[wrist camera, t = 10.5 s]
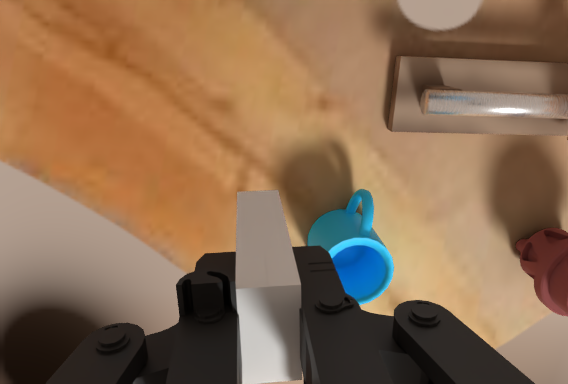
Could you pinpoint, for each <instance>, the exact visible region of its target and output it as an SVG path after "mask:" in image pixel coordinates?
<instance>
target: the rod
mask: <svg viewBox="0 0 568 384" xmlns="http://www.w3.org/2000/svg"><path fill="white" fill-rule="evenodd" d="M420 108H421V112H422V114H423V115H453V116H488V117H523V118H558V119H568V94H546V93H517V92H488V91H460V90H431V89H426V90H424V92H423V93H422V96H421V101H420Z"/></svg>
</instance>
